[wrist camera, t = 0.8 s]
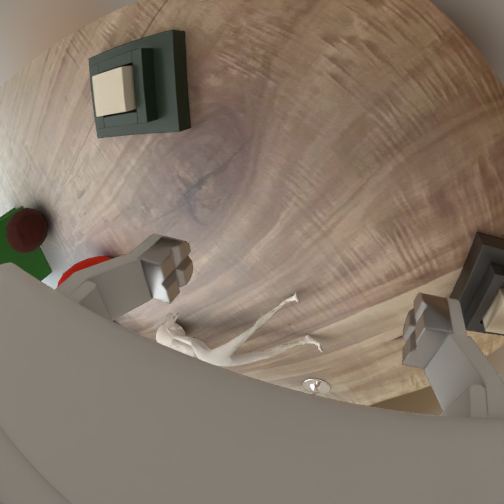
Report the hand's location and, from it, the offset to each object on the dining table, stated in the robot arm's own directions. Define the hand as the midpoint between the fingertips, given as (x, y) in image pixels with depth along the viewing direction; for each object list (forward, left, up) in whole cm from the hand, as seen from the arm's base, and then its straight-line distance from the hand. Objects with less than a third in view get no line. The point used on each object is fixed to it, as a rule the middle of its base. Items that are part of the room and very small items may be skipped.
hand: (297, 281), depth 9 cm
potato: (+13, -53, -17) cm, 57 cm away
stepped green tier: (-7, -20, -16) cm, 27 cm away
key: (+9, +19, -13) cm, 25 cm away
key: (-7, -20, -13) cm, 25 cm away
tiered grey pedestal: (+9, +19, -16) cm, 27 cm away
